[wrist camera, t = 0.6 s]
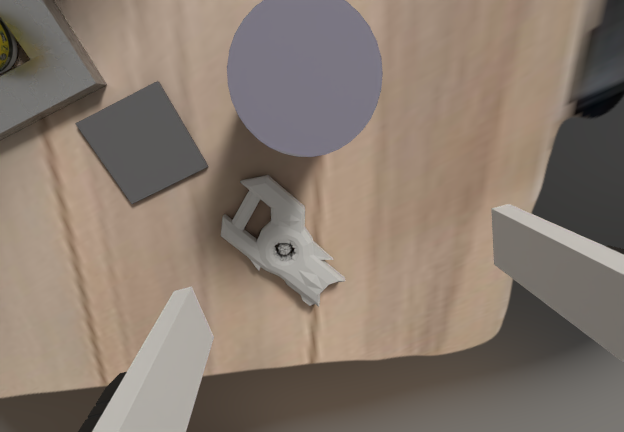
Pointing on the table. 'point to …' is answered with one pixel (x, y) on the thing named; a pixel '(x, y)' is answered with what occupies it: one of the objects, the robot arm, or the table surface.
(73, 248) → the table surface
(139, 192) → the rubber mat
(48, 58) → the housing plate
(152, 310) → the table surface
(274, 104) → the container
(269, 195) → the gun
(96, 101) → the table surface
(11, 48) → the pill bottle
